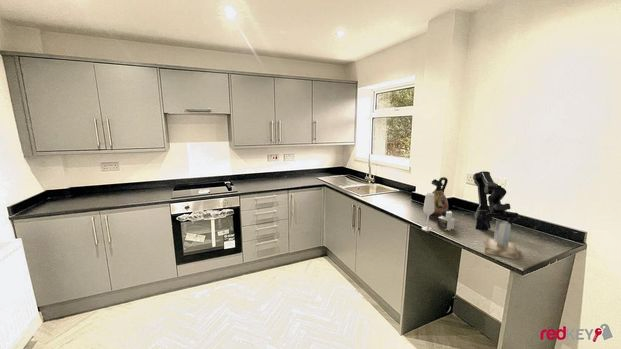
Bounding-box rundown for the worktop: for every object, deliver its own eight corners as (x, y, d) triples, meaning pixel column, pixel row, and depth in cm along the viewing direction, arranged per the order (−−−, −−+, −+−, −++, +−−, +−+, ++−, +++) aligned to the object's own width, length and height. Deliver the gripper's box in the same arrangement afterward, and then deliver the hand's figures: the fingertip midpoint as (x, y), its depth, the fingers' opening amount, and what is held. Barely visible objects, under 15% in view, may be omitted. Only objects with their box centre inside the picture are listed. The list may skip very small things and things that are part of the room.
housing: (496, 246, 136) (499, 223, 134) (493, 242, 141) (496, 220, 139) (507, 247, 135) (511, 224, 133) (503, 243, 140) (507, 221, 137)
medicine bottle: (437, 227, 171) (438, 210, 169) (444, 225, 174) (446, 208, 172) (446, 231, 165) (448, 213, 162) (454, 229, 167) (455, 211, 165)
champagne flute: (434, 229, 167) (438, 194, 163) (429, 232, 163) (432, 195, 159) (425, 226, 172) (428, 191, 168) (419, 228, 169) (422, 193, 164)
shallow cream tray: (484, 252, 136) (485, 247, 136) (484, 242, 148) (484, 237, 147) (517, 259, 129) (518, 254, 128) (514, 248, 141) (515, 243, 140)
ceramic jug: (434, 220, 182) (437, 179, 177) (420, 213, 197) (423, 175, 191) (454, 218, 186) (458, 178, 181) (439, 211, 201) (442, 174, 195)
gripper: (480, 196, 144) (484, 221, 136) (520, 198, 139) (527, 225, 130) (475, 205, 153) (478, 229, 145) (512, 208, 148) (517, 233, 139)
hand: (499, 229), depth 140 cm, fingers open, 9 cm apart
